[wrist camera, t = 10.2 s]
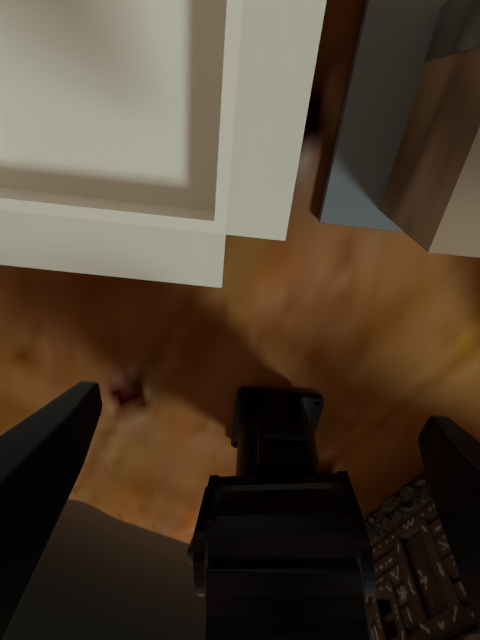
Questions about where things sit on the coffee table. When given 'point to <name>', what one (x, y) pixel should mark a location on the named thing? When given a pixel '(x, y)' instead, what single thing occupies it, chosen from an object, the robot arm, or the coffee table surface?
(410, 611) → the model building
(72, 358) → the coffee table surface
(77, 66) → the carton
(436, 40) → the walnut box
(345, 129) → the slate mat
